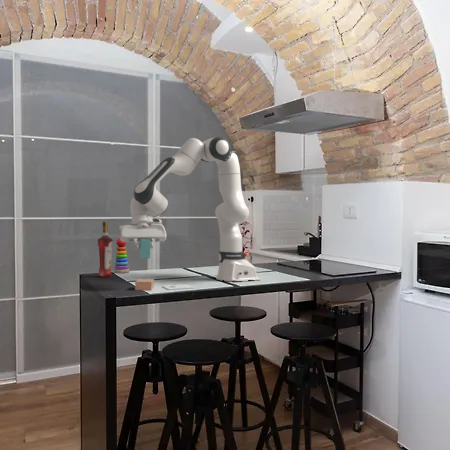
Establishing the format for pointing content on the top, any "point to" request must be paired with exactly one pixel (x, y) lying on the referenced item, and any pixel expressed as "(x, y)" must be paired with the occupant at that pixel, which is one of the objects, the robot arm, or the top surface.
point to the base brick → (144, 284)
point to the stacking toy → (121, 258)
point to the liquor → (105, 253)
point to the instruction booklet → (177, 287)
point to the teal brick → (145, 248)
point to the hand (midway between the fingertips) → (145, 247)
